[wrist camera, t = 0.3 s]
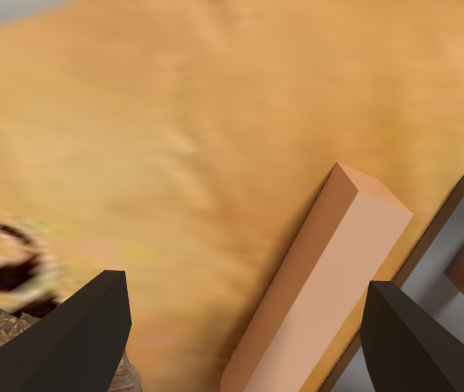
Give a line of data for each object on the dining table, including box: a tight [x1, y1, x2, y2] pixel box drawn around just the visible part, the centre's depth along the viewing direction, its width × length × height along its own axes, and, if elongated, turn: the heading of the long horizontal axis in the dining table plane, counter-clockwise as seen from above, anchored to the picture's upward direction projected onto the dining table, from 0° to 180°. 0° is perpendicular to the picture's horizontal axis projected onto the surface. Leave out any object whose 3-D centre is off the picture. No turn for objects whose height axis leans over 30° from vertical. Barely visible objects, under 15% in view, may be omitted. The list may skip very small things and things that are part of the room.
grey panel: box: [319, 176, 464, 392], centre depth 21 cm, size 20×10×5 cm, turn 157°
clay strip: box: [220, 162, 413, 392], centre depth 20 cm, size 16×2×5 cm, turn 157°
